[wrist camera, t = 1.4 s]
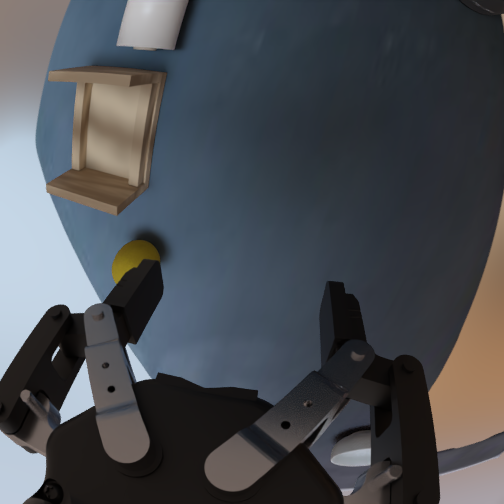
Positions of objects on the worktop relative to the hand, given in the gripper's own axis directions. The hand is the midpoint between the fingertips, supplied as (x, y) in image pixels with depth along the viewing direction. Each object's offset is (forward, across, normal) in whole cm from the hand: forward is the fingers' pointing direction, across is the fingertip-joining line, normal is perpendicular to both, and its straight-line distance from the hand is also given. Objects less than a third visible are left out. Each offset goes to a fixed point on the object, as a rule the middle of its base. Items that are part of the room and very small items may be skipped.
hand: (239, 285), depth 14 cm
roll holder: (+18, +17, -5) cm, 26 cm away
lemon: (+19, +15, +11) cm, 27 cm away
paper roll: (+15, +11, -17) cm, 25 cm away
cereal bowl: (+20, -30, +62) cm, 72 cm away
